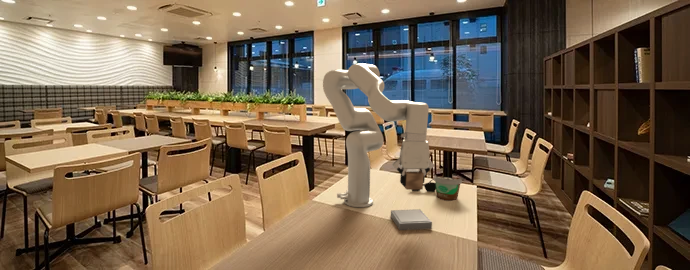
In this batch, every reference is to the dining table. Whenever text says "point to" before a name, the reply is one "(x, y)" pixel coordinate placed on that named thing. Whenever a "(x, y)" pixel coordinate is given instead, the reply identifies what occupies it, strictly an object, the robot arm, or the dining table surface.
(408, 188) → the cube
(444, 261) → the dining table surface
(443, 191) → the food container
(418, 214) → the tray
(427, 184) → the sunglasses
